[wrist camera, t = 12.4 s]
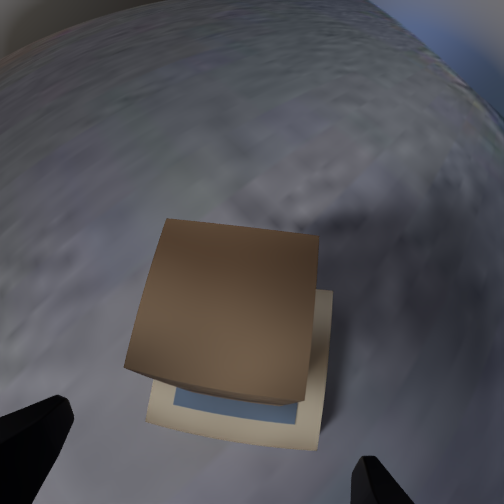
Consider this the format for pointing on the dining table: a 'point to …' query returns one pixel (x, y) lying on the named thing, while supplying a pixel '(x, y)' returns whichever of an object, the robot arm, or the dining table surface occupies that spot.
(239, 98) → the dining table surface
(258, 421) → the birch plinth
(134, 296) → the dining table surface
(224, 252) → the walnut column
